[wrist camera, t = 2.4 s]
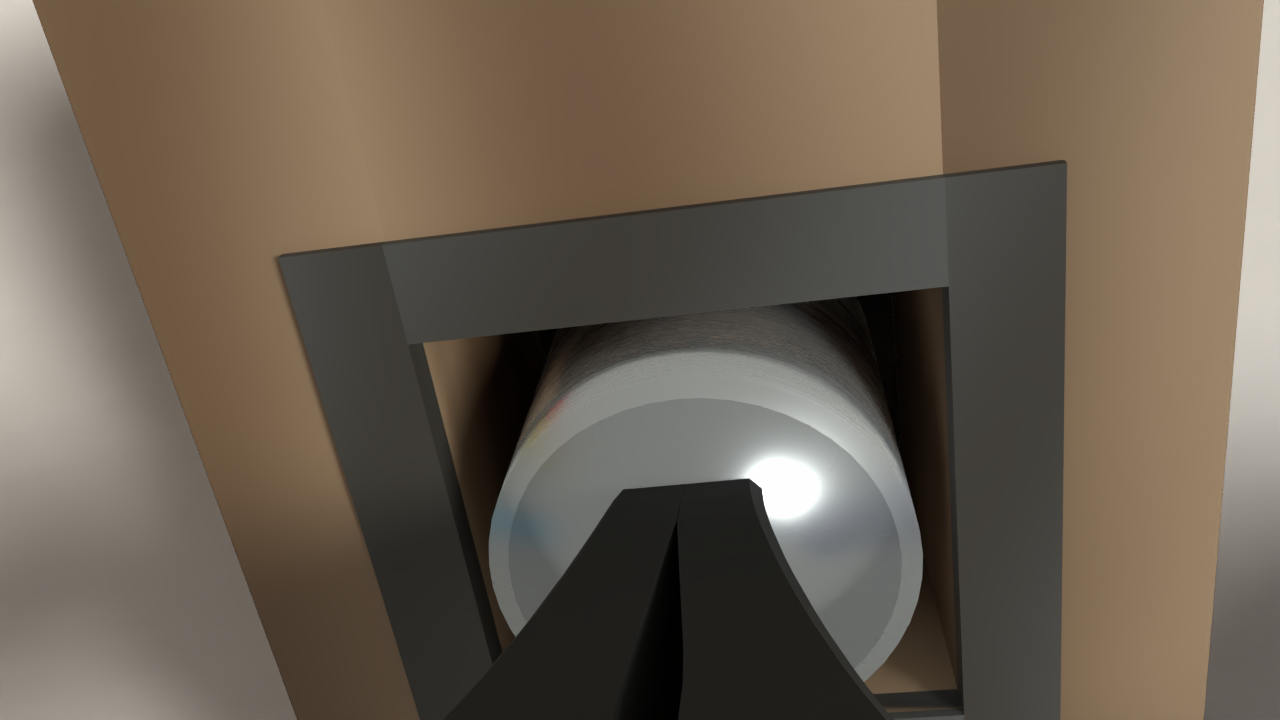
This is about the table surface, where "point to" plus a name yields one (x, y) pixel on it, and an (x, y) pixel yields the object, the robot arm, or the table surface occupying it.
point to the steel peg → (723, 455)
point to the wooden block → (694, 294)
